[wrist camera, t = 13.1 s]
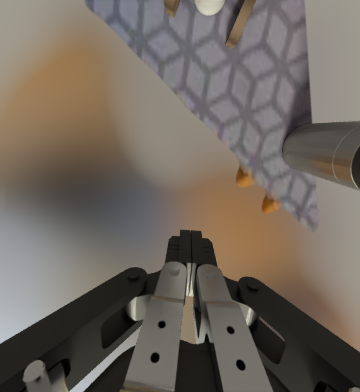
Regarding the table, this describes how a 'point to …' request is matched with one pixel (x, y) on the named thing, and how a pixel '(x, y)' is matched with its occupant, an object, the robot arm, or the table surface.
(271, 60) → the table surface
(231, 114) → the table surface
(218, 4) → the white cup
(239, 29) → the walnut dock
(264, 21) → the table surface
